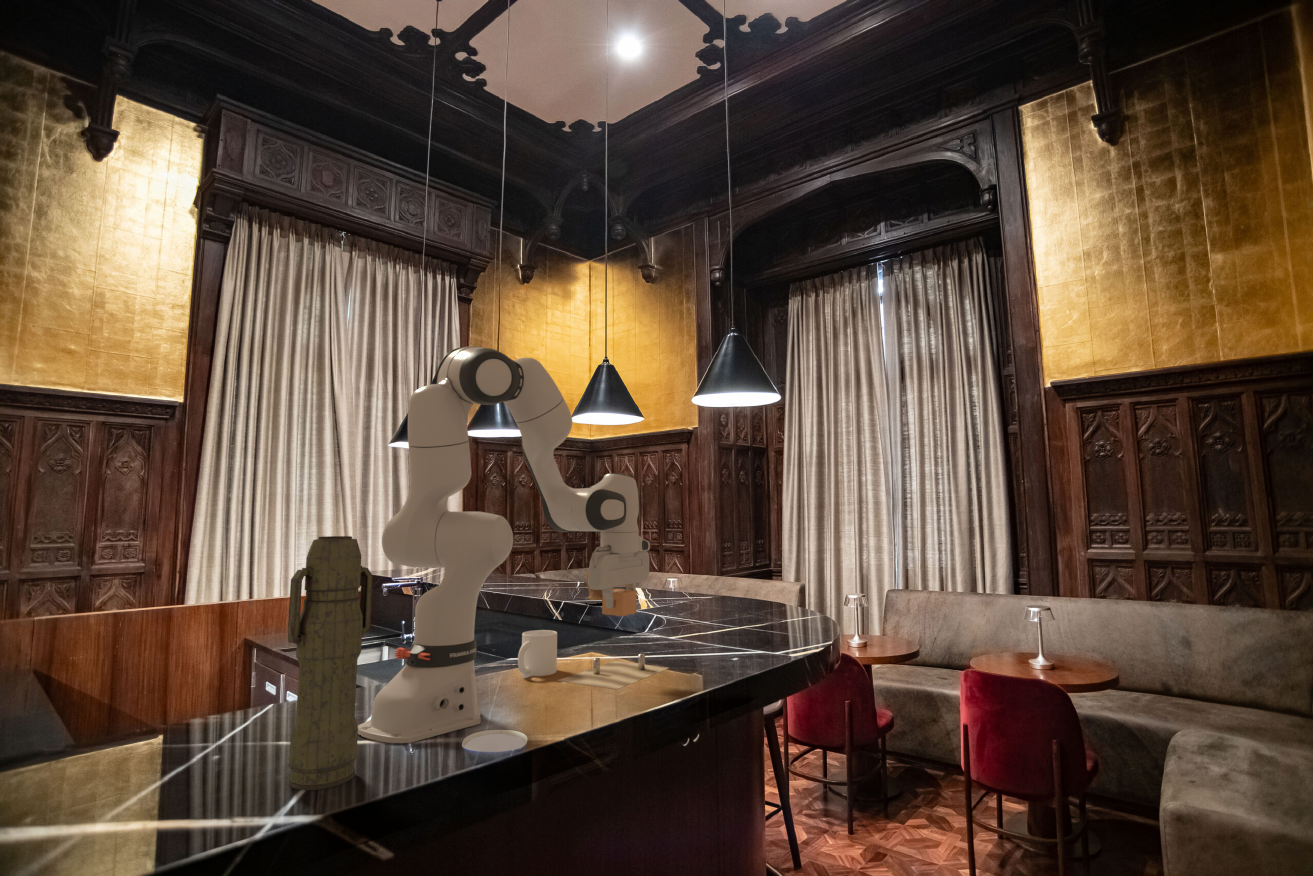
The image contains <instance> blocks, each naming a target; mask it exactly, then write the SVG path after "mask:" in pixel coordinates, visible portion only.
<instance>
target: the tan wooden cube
mask: <svg viewBox="0 0 1313 876" xmlns="http://www.w3.org/2000/svg"><path fill="white" fill-rule="evenodd" d="M612 594H613V598H614V600H616V606H615V607H614V608H607V607H606V600H605V598H604V595H603V593H602V604H601V606H602V608H601V610H602V611H601V613H602V615H607V616H608V615H609V616H616V617H617V616H618V617H625V616H629V615H632V614H636V613H637V590H636V589H635V590H626V589H624V588H614V592H613V593H612Z"/></svg>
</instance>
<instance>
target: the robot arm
mask: <svg viewBox="0 0 1313 876" xmlns="http://www.w3.org/2000/svg"><path fill="white" fill-rule="evenodd" d="M501 403H504V405H505V407H507V408H508V410H509V412H510V414H511V416H512V418H513V420H514V422H515V423H516V425H517V428H518V430H519V432H520V435H521V449H522V450H521V451H522V455H523V457H524V460H525V462H526V465H527V467H528V470H529V473H530V475H531V478H532V480H533V482H534V484H535V487H536V489H537V491H538V494H539V497H540V500H541V504H542V512H543V516H544V518H545V521H546V522H547V524H548V526H549V527H550V528H551V530H553V531H556V532H557V533H569V532H600V546H597V547H595V549H594V551H593V552H592V553H591V557H590V560H589V565H588V566H589V567H588V571H589V573H588V585H589V587H590V589H595V590H602V593H603V595H604V598H605V600H606V607H607V608H614V607H615V606H616V600H614V598H613V594H612V593H613V592H614V589H615V588H617V587H623V586H625V588H626V589H625V590H636V589H637V583H643V582H647V581H648V579H649V576H650V556H649V555H650V553H649V551H650V549H651V543H650V541H649V540H647V539H644V538H643V537H642V536H640V532H639V531H640V530H639V525H638V517H639V513H640V512H639V511H640V507H639V506H640V504H639V503H640V502H639V489H638V486H637V481H636V479H635V478H634V477H632V476H630V475H629V474H623V473H616V472H614V473H613V472H612V473H610V472H609V473H607V474H605V475H603V478H601V480H600V481H599V482H597V483H596V484H594V485H592V486H589V487H585V488H574V487H571V486H569V485H567V484H566V483H565V482H564V479H563V477H562V474H561V472H560V470H559V467H558V464H557V461H556V460H555V456H554V451H555V449H556V448H558V447H559V446H561V444H562V443H563V442H565V440H567V438H568V437H569V435H570V433H571V430H572V427H573V418H572V413H571V410H570V408H569V406H568V404H567V402H566V400H565V398H564V396H563V394H562V392H561V391H560V389H559V387H558V385H557V384H556V383H555V380H554V379H553V378H552V376H551V375H550V373H549V372H548V370H547V369H546V368H545V367H544V366H543V364H542V363H541V362H540V361H539V360H538V359H535V358H533V357H520V358H517V359H514V360H513V359H512V358H511V357H509V356H507V354H505V353H503V352H501V351H499V350H498V349H494V348H490V347H489V348H487V347H486V348H485V347H483V346H477V345H474V346H464V347H463V346H462V347H457V348H454V349H452V350H449V352H448V353H446V354H445V355H444V356H443V358H442V359H441V361H440V363H439V364H438V368H437V370H436V372H435V375H434V377H433V378H432V380H431V384H427V385H424V386H422V387H419V388H417V389H416V390H414V392H413V393H412V394H411V396H410V397H409V402H408V411H407V441H408V443H407V444H408V453H409V454H408V455H409V465H410V466H409V467H410V470H409V471H410V482H409V483H410V485H409V491H408V494H407V497H406V500H405V502H404V504H403V506H402V507H401V509H400V510H399V511H398V512H397V513H396V514H395V515H394V516H393V517H391V518H390V519H389V521H388V522H387V523H386V525H385V527H384V529H383V532H382V534H381V535H382V536H381V547H382V551H383V552H384V555H385V557H386V558H387V559H388V560H389V561H390V562H391V563H393V564H395V565H399V566H400V565H401V566H405V567H409V568H417V569H418V568H419V569H420V568H422V569H423V568H425V569H430V568H432V569H435V568H436V569H437V568H438V569H439V568H440V569H442V568H443V569H444V572H443V573H444V574H443V578H442V580H441V582H440V584H439V585H437V586H435V587H433V588H431V589H429V590H428V591H426V592H424V593H423V594H422V595H421V596H420V597H419V599H418V601H417V602H416V605H415V611H414V612H415V613H414V615H415V616H414V617H415V619H414V639H413V642H412V643H411V645H410V648H408V647H406V648H404V647H397V648H396V650H395V651H394V657H395V658H396V659H399V660H405V661H404V663H405V664H404V666H403V668H402V669H401V670H399V672H397V674H395V676H394V677H392V679H391V680H390V681H388V683H387V684H386V685H385V686H384V687H383V688H381V690H380V691H378V692H377V694H376V696H375V698H374V700H373V705H372V711H371V715H370V720H368V721H365V722H363V723H360V724H357V725H358V736H360V735H361V737H363V738H366V739H369V740H372V741H377V742H381V743H382V742H384V743H393V744H409V743H414V742H417V741H421V740H426V739H429V738H433V737H436V736H440V735H444V734H447V733H451V732H454V731H458V730H462V729H465V728H470V727H473V726H477V725H480V724H481V723H482V719H481V714H482V713H481V708H480V705H479V699H478V688H477V678H476V672H475V659H476V658H477V648H478V647H477V640H476V638H475V627H476V626H475V624H476V611H477V605H478V598H479V596H480V592H481V589H482V588H483V585H484V583H485V582H486V580H487V579H488V577H489V576H490V574H492V572H493V571H494V570H495V569H496V568H498V567H499V566H500V565H501V564H503V563H504V562H505V561H506V560H507V558H508V557H509V556H510V554H511V551H512V549H513V544H514V533H513V530H512V527H511V525H510V523H509V522H508V520H507V519H506V518H505V517H504V516H502V515H499V514H494V513H490V512H484V511H450V510H448V500H449V497H452V496H453V495H455V494H457V493H458V492H460V491H461V490H463V489H465V487H466V486H467V485H468V484H469V483H470V481H471V478H472V465H471V451H470V440H469V431H468V418H469V415H470V411H471V409H472V407H473V406H474V405H484V406H492V405H498V404H501ZM588 585H587V586H588Z"/></svg>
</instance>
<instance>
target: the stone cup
mask: <svg viewBox="0 0 1313 876" xmlns="http://www.w3.org/2000/svg"><path fill="white" fill-rule="evenodd" d="M588 573H589V570H587V571H586V572H585V582H586V584H587V589H588V597H585V598H584V599H590V600H601V599H602V590H595V589H590V587H589V585H588Z"/></svg>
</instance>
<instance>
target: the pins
mask: <svg viewBox="0 0 1313 876" xmlns="http://www.w3.org/2000/svg"><path fill="white" fill-rule="evenodd" d="M637 654H638V657H637V658H638V660H637V664H638V670H645V665H646V654H645V653H637ZM592 662H593V663H592V669H593V674H600V666H601V657H593V661H592Z"/></svg>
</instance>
